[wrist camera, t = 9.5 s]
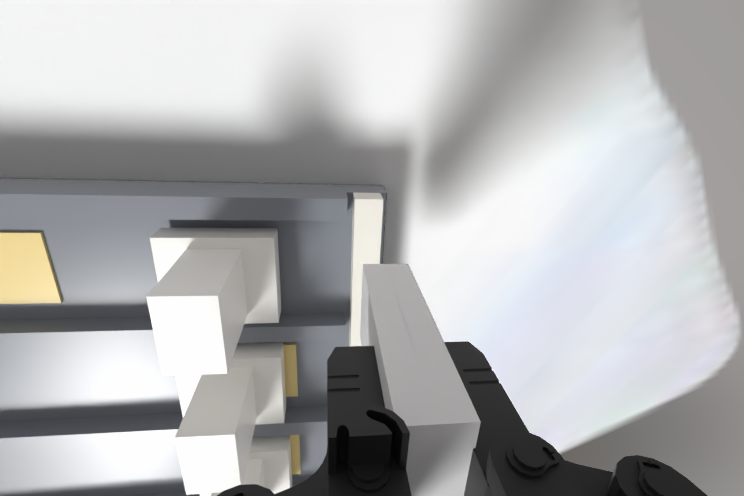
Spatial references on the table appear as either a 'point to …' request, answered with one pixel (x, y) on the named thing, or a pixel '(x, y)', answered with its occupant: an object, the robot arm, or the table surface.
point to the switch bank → (134, 328)
